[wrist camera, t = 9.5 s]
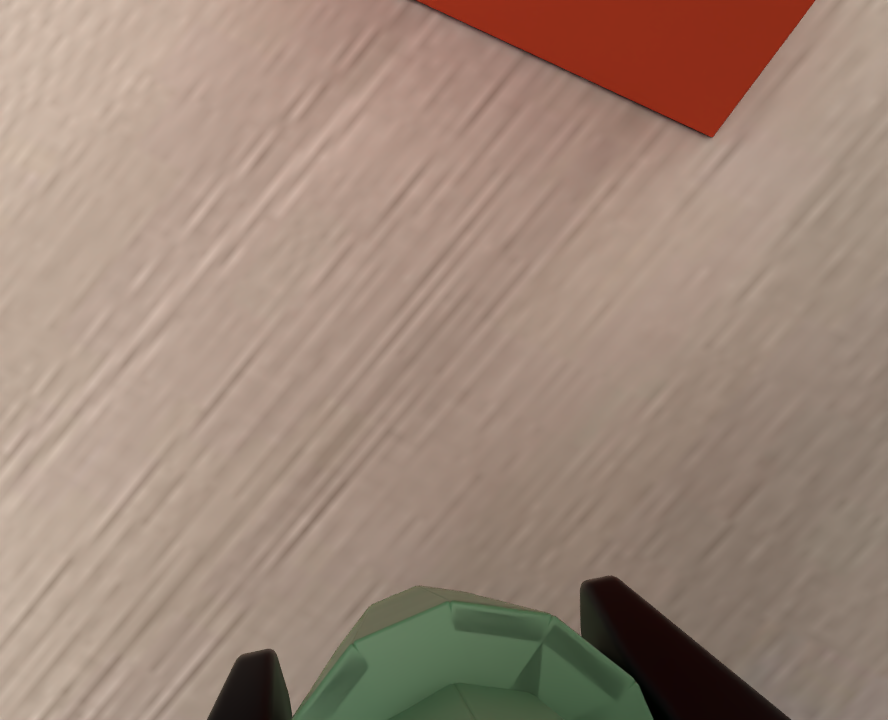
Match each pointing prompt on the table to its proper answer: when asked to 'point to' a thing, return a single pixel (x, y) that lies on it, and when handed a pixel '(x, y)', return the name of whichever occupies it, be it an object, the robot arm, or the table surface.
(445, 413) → the table surface
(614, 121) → the table surface
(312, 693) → the bottle
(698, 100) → the file binder
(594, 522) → the table surface
